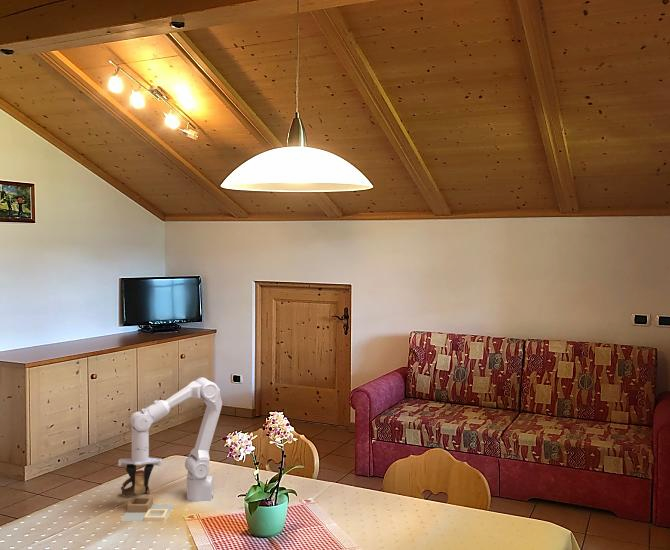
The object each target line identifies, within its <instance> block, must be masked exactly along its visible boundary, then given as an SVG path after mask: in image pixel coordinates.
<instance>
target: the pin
mask: <svg viewBox="0 0 670 550" xmlns="http://www.w3.org/2000/svg"><path fill="white" fill-rule="evenodd" d="M134 474H135V494H136V495H141V494H144V493H146V492H145V472H144V469H141V470H140V469H138V470H136V471H135V472H134Z"/></svg>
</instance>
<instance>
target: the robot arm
mask: <svg viewBox="0 0 670 550" xmlns="http://www.w3.org/2000/svg"><path fill="white" fill-rule="evenodd" d="M220 392H221V389H220V388H219V386H218V385H217V384H216V383H215V382H213V381H211V380H208V379H207V378H206V377H198V378H196V380H193V381H191V382H189V383H188V385H187V386H184V388H182V389H180V390H178V391H177V392H176V393H174V394H173V395H171V396H170V397H168V398H166V399H165V400H162V399H155V400H154V401H153V403H152V404H150V405H149V406H147V407H145V408H142V409H141V411H136V412H134V413H132V414H131V416H130V417H129V418H130V419H129V422H128V423H129V424H130V426H131V457H128V458H127V457H126V458H119V459H118V464H117V465H118V467H122V466H126V467H125V470H126V472H127V475H128V476H129V478H130V479H131V482H130V483H131V486H132V487H135V474H134V472H135V471H137V466H144V469H143V470H144V472H145V487H147V486H148V487H149V481H150V477H151V475H152V471H153V469H154V467H155V466H158V467H161V466H162V464H163V459H162V458H156V457H149V456H150V449H149V448H150V447H149V446H150V443H149V441H150V436H149V435H150V433H149V429H150V428H151V426H152V424H154V423H156V422H158V421H159V420H160V419H162V418H163V417H165V416H167V415H168V414H169V413H170V410H171V409H172V408H174V407H176V406H178V405H180V404H181V403H184V402H185V401H187V400H189V399H190V398H193V399H201V398H202V400H203V402H204V404H205V405H206V407H205V411H204V414H203V417H202V421H201V425H200V427H199V431H198V435H197V438H196V441H195V446H194V447H193V448H192V449H191V450H190V452H189V455H188V456H187V457H186V459H185V462H184V467H185V469H186V470H187V473H186V500H187V501H188V502H196V503H197V502H212V499H213V497H214V476H212V475H209V472H210V462H211V461H210V460H211V458H210V453H209V452H210V447H211V445H212V442H213V438H214V436H215V435H214V434H215V431H216V427H217V424H218V421H219V417H220V415H221V411H222V407H223V401H222V397H221V393H220Z"/></svg>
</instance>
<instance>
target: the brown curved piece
mask: <svg viewBox="0 0 670 550" xmlns="http://www.w3.org/2000/svg"><path fill="white" fill-rule="evenodd" d="M130 483H132V482H131V479H130V477H129V478H127V479H125V481H123V483H122V486H121V487H120V490H121V496H123V497H126V496H131V495H132V494H133V495H135V494H136V493H135V487H132V485H131V486H129V487H127V486H128V485H129V484H130ZM126 487H127V488H126ZM145 493H146V494H147V495H151V490H150V487H149V485H148V486H147V487H145Z"/></svg>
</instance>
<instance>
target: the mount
mask: <svg viewBox="0 0 670 550" xmlns="http://www.w3.org/2000/svg"><path fill="white" fill-rule="evenodd" d="M174 507H175V504H173V503H169V504H165V503H164V504H163V503H159V504H157V503H154V497H149V496H146V497H143V496H142V497H141V496H139V497H132V498H131V499H130V501H129V503H128V504H127V511H125V513H124V515H123V516H122V518H121V519H120V522H167V520H168V518H169V516H170V514H171V512H172V510H173V508H174Z"/></svg>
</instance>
